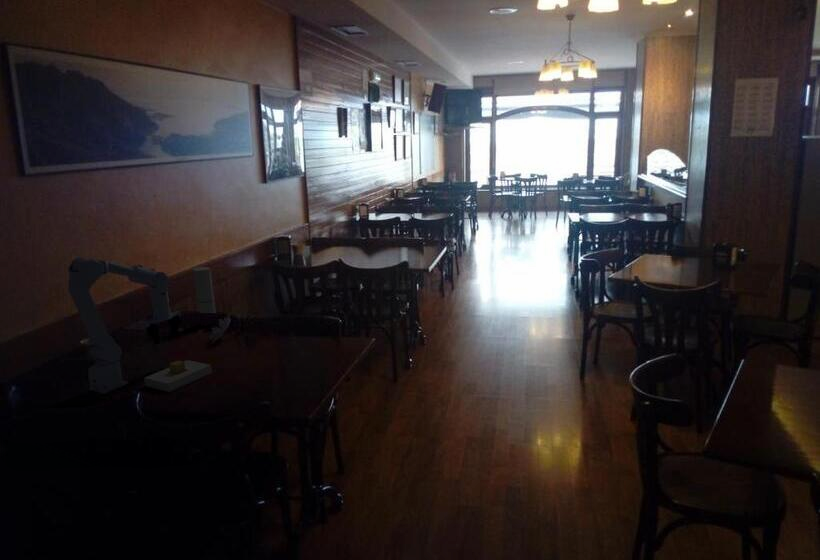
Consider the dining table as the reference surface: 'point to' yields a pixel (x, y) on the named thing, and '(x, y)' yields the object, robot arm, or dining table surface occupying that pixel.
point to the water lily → (220, 329)
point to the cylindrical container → (204, 290)
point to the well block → (178, 376)
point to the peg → (177, 367)
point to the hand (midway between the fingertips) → (165, 340)
